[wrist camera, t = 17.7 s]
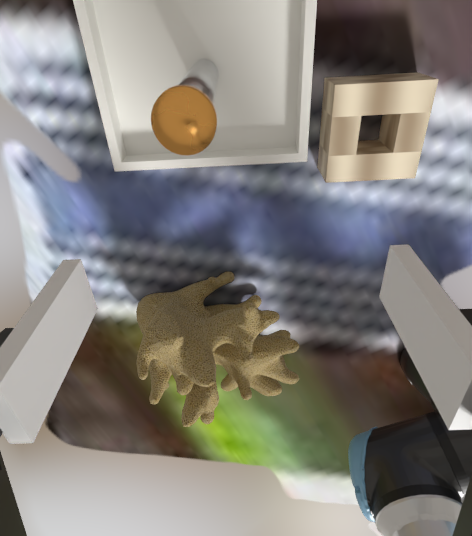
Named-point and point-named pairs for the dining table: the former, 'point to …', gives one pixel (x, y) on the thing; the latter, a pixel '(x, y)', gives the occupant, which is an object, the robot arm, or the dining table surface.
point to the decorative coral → (210, 347)
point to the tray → (181, 60)
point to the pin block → (391, 130)
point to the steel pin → (188, 111)
